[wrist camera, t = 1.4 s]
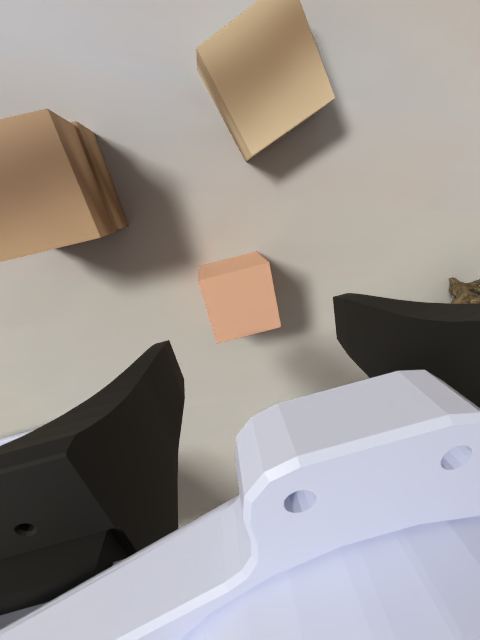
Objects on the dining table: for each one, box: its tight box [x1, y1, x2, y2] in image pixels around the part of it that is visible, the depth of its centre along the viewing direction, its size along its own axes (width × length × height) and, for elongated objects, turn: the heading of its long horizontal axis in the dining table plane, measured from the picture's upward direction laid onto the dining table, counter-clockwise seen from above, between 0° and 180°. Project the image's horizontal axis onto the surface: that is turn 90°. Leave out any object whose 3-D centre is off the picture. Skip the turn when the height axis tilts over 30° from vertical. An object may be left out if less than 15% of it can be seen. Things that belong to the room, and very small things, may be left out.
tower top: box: [0, 109, 116, 262], centre depth 13 cm, size 5×5×2 cm
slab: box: [196, 0, 335, 161], centre depth 15 cm, size 5×5×2 cm
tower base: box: [72, 121, 128, 230], centre depth 15 cm, size 5×5×2 cm
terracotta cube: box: [198, 251, 281, 344], centre depth 18 cm, size 4×4×4 cm
